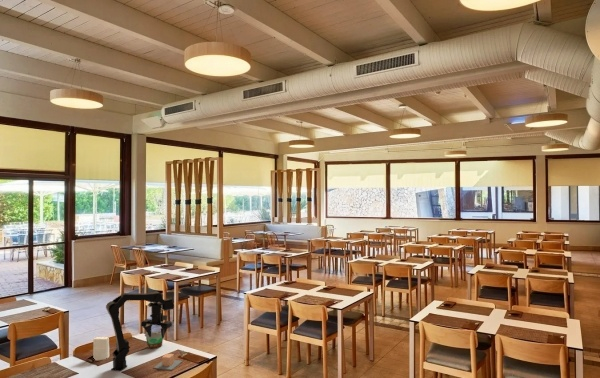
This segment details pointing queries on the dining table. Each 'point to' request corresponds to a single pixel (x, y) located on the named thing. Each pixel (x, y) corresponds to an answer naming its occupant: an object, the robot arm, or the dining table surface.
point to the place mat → (175, 364)
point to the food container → (154, 340)
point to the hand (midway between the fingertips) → (156, 337)
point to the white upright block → (101, 348)
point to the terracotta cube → (168, 359)
